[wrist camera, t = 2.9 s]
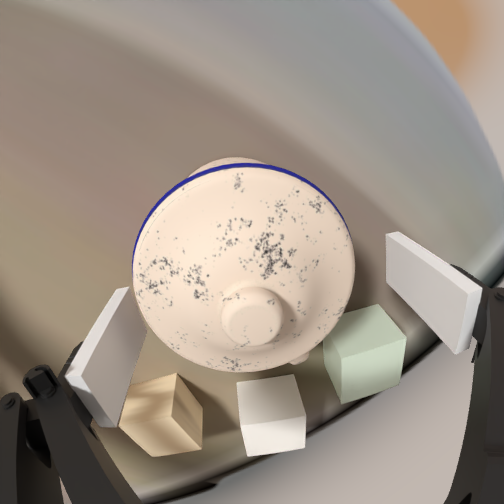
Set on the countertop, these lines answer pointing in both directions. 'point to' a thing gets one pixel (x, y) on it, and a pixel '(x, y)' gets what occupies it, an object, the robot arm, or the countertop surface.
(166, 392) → the maple cube
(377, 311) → the sage painted cube
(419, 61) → the countertop surface
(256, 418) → the white painted cube
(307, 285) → the teacup with lid
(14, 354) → the countertop surface
